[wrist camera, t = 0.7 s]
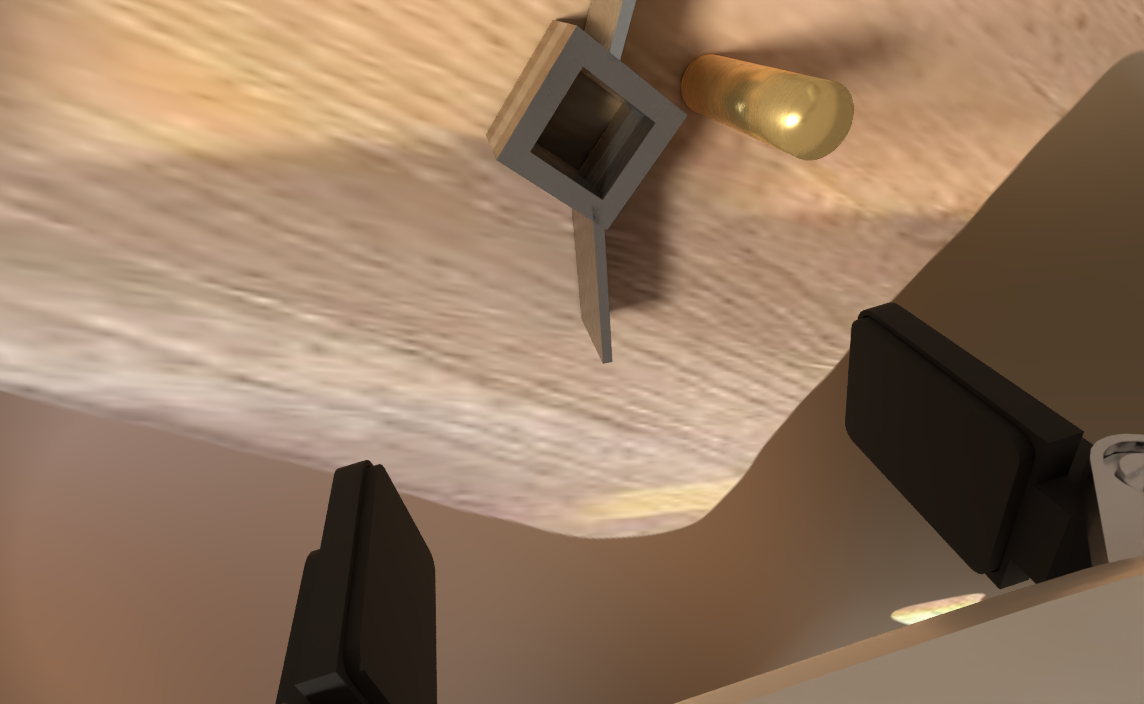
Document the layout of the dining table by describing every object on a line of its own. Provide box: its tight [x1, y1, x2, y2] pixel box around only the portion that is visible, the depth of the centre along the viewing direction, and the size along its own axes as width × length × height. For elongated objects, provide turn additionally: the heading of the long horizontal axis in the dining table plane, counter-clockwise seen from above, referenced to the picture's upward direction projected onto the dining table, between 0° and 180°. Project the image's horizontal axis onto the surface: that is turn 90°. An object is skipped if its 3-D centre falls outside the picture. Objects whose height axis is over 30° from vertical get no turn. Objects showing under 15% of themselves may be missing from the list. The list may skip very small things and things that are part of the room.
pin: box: [681, 54, 854, 160], centre depth 30 cm, size 3×3×12 cm
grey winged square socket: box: [486, 0, 688, 364], centre depth 33 cm, size 22×13×6 cm, turn 145°
